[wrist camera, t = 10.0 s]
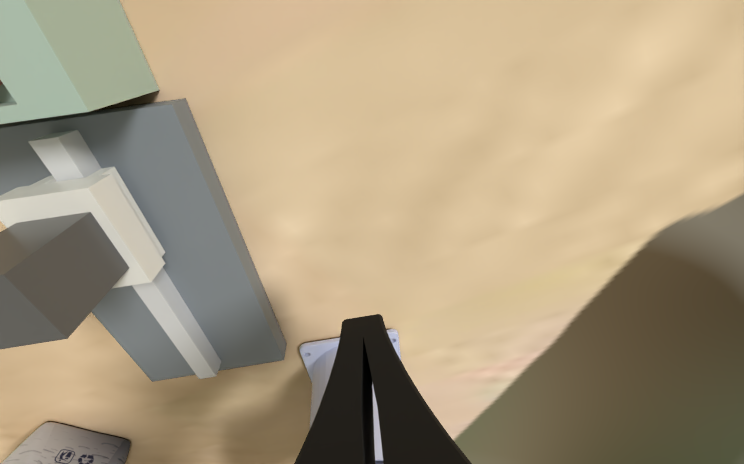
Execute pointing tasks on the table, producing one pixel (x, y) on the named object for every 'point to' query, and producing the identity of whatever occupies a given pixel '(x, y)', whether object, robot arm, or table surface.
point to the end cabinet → (67, 58)
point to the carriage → (68, 253)
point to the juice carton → (69, 447)
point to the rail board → (161, 236)
